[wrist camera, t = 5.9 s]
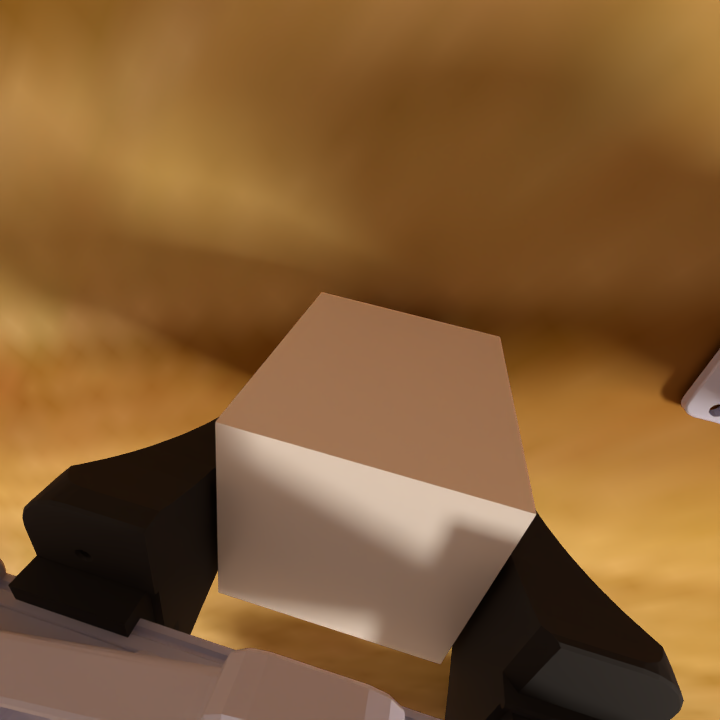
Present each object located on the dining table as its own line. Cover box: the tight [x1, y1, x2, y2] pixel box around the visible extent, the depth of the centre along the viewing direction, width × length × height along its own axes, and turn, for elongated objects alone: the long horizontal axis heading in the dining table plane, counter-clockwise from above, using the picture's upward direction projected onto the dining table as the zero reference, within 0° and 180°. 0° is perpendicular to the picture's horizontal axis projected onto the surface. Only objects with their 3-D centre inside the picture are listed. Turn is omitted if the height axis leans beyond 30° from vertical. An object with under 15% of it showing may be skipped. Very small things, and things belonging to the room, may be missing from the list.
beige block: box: [215, 292, 536, 664], centre depth 12 cm, size 6×6×7 cm
